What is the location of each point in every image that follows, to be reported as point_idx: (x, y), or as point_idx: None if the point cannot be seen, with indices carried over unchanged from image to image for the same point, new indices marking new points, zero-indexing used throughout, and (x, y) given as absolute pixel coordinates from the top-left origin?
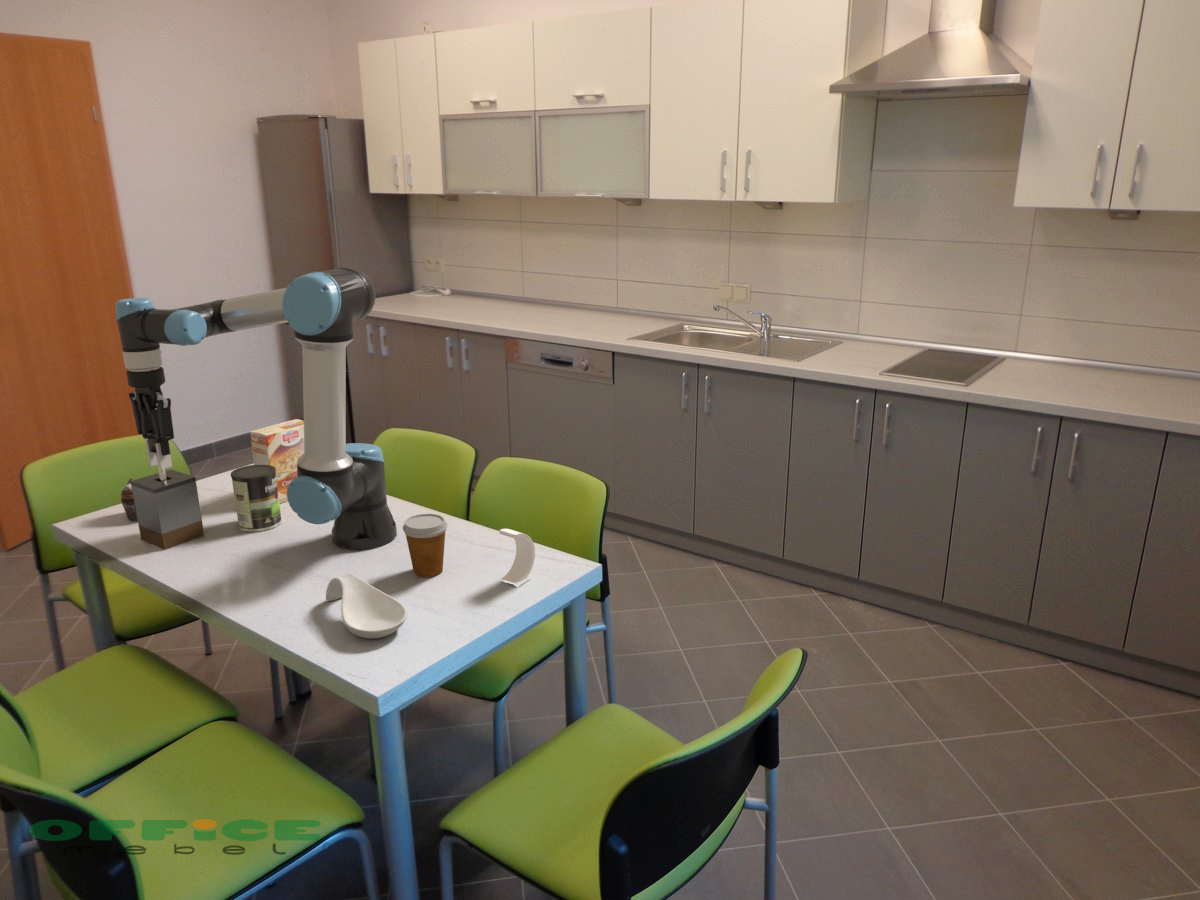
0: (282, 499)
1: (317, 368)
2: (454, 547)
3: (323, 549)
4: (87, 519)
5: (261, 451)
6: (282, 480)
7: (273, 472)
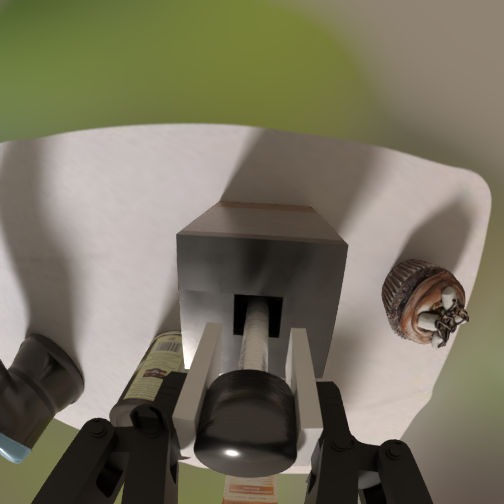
0: None
1: None
2: None
3: (46, 324)
4: (477, 223)
5: (244, 489)
6: None
7: None
